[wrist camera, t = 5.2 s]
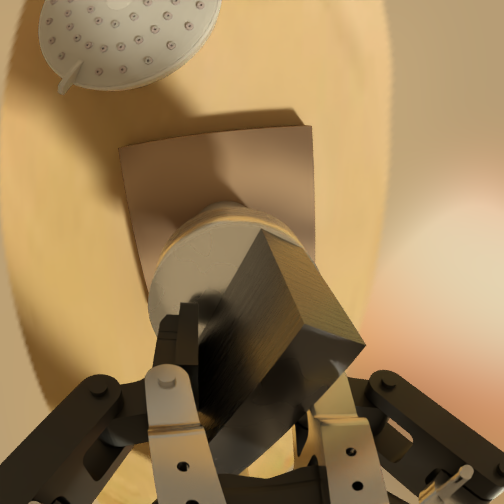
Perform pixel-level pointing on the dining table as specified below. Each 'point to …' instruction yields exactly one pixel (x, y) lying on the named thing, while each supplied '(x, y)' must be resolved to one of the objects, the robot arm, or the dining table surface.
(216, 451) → the knob
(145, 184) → the post base
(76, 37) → the showerhead
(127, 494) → the dining table surface
